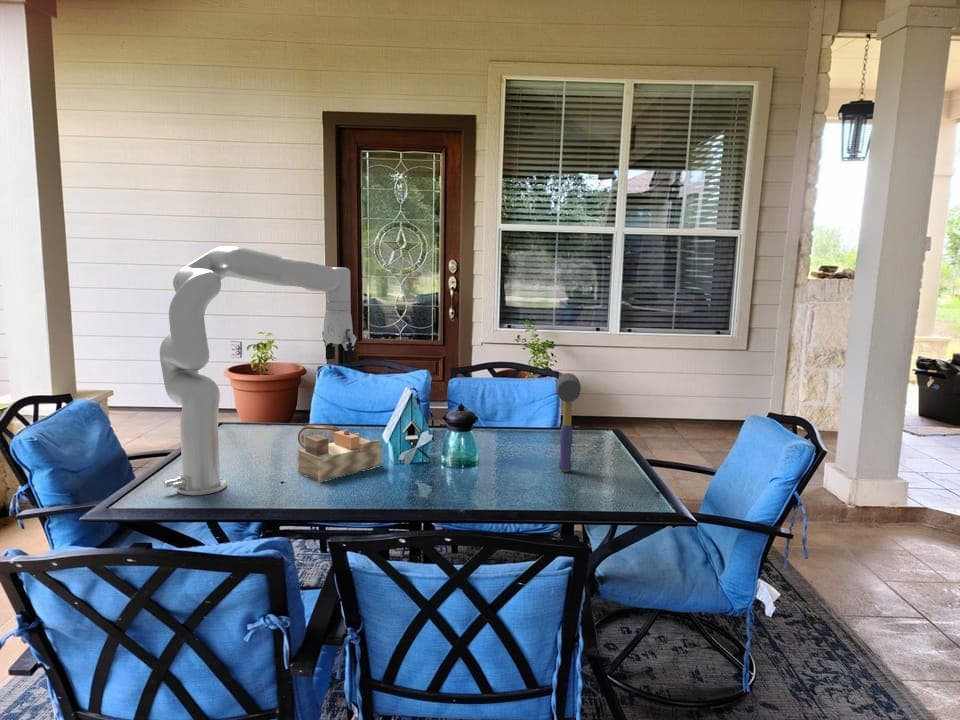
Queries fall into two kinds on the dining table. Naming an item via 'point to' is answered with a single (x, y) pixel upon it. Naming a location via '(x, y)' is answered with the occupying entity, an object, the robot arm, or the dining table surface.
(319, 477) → the toolbox
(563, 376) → the rubber mallet
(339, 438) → the peach boxy piece
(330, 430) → the tin
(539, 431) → the dining table surface
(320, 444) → the lid
